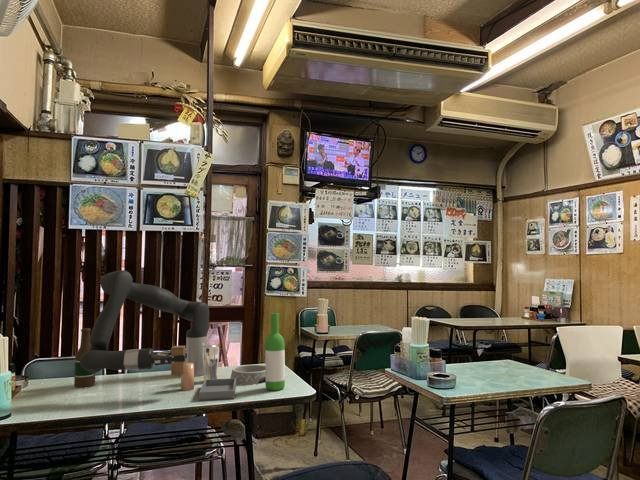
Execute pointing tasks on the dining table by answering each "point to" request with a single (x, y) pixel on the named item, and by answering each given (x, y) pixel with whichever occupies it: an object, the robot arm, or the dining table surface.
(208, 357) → the beer glass
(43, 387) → the dining table surface
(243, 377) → the dog bowl
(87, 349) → the beer bottle
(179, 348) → the walnut block
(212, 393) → the tote
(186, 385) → the terracotta jar
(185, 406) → the dining table surface
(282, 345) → the wine bottle
